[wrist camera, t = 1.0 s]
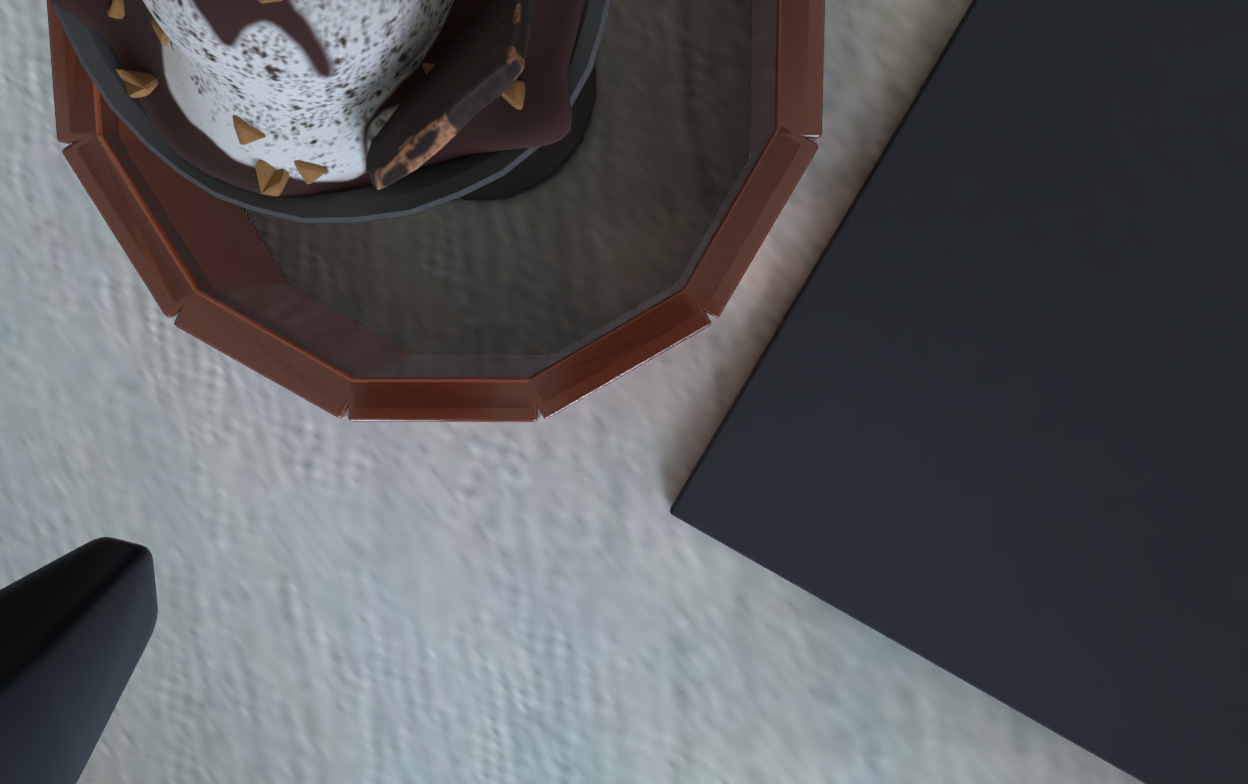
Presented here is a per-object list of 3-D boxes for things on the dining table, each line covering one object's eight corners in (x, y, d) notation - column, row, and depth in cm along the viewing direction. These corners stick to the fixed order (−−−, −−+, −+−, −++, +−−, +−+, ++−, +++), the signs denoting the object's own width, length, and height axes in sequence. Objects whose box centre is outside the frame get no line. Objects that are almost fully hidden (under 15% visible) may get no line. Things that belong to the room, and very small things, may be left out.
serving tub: (594, 497, 22) (578, 555, 18) (71, 200, 22) (-78, 185, 18) (907, -41, 21) (976, -123, 16) (349, -376, 20) (263, -555, 16)
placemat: (1271, 851, 23) (1281, 861, 23) (669, 509, 22) (669, 513, 22) (1837, 70, 21) (1859, 66, 20) (1176, -340, 20) (1186, -352, 20)
